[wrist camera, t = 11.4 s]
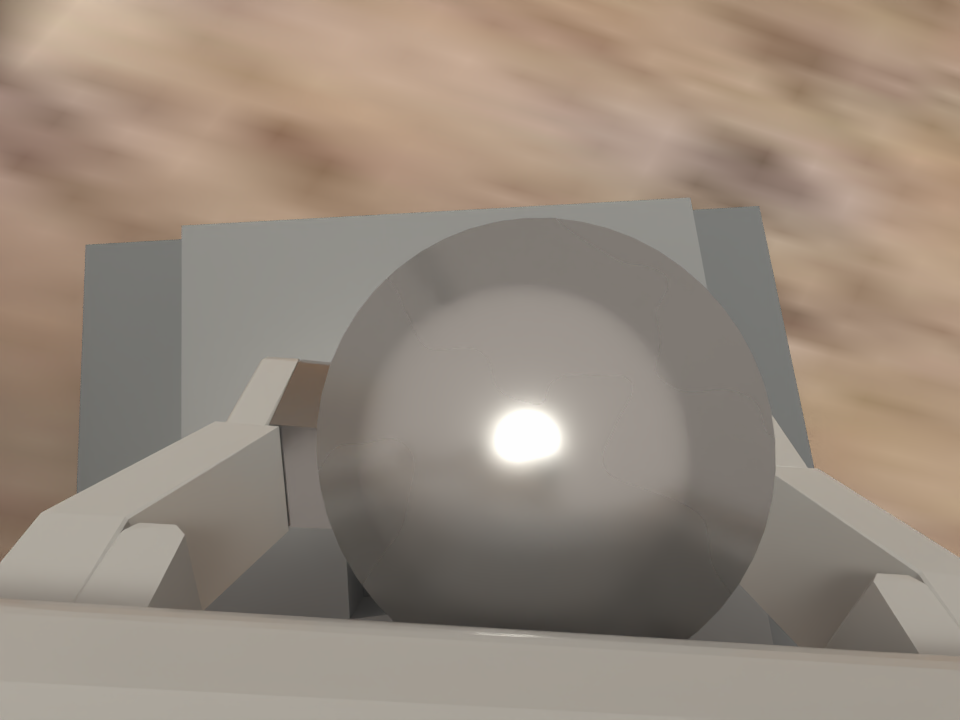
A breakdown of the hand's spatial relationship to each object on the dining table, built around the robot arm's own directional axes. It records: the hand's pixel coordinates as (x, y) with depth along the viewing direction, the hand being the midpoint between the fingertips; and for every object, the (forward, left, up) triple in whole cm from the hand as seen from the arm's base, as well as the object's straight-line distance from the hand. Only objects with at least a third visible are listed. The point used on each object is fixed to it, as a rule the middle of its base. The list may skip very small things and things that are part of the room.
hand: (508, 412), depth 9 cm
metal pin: (0, -1, -4) cm, 4 cm away
